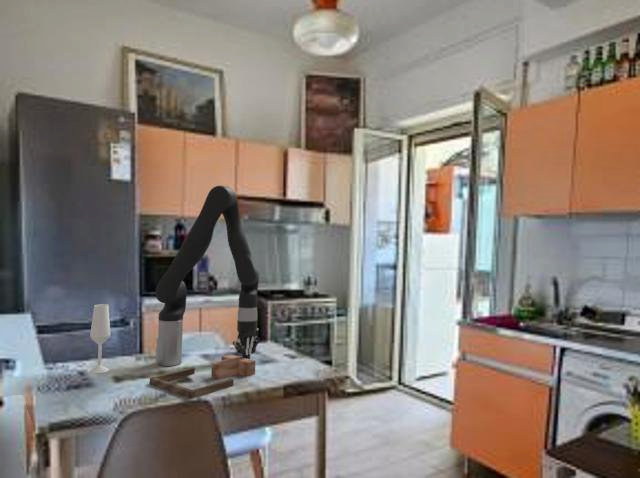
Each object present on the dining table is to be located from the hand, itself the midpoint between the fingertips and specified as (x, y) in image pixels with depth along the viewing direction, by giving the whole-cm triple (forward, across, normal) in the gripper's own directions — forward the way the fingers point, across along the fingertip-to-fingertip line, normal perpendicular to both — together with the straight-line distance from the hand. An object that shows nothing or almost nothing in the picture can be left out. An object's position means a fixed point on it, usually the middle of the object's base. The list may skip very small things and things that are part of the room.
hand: (245, 364), depth 177 cm
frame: (+2, +25, 0) cm, 25 cm away
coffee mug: (+2, -22, -20) cm, 30 cm away
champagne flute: (+2, +37, -38) cm, 53 cm away
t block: (+2, +9, 0) cm, 9 cm away
